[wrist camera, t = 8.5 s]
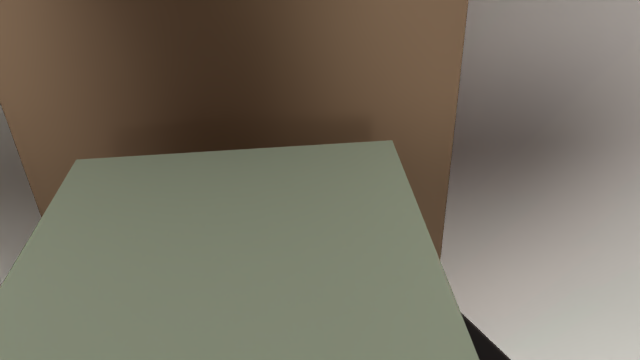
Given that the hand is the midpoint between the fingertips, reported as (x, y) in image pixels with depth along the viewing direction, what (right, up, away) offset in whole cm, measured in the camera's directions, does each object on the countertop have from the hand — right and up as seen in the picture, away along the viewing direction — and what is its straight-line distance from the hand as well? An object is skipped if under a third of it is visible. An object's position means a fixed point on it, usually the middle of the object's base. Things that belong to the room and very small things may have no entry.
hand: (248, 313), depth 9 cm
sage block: (0, +1, +1) cm, 1 cm away
